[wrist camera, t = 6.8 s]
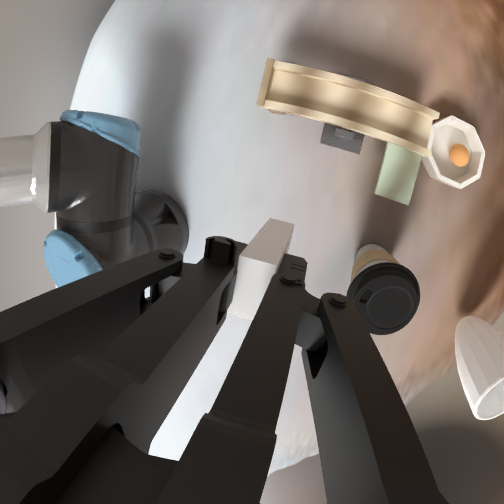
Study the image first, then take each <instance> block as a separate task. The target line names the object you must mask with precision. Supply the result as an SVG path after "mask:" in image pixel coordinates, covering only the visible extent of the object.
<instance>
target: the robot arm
mask: <svg viewBox="0 0 504 504" xmlns="http://www.w3.org/2000/svg"><path fill="white" fill-rule="evenodd" d="M60 120H61V121H60V122H48V123H46V124H45V125H44V126H43V127H42V128H41V130H39V131H38V132H37V133H36V134H34V135H24V136H13V137H4V138H0V207H4V206H11V205H18V204H25V203H34V204H36V205H37V206H38V207H39V208H40V209H41V210H42V211H43V212H45V213H49V212H56V217H57V230H53V231H52V232H50V234H48V235H47V237H46V240H45V241H44V245H43V253H44V258H45V262H46V266H47V269H48V271H49V273H50V275H51V277H52V279H53V281H54V282H55V284H56V285H57V287H58V288H56V289H54V290H51V291H49V292H46V293H44V294H42V295H40V296H37V297H34V298H32V299H30V300H27V301H25V302H23V303H20V304H18V305H16V306H13V307H11V308H9V309H6V310H4V311H2V312H0V504H260V503H259V502H260V499H261V496H262V492H263V489H264V485H265V482H266V478H267V475H268V471H269V467H270V464H271V460H272V456H273V452H274V448H275V444H276V438H277V435H276V434H275V429H276V425H277V421H278V417H279V413H280V409H281V404H282V400H283V396H284V391H285V387H286V382H287V378H288V373H289V369H290V364H291V359H292V354H293V349H294V344H296V345H298V346H300V347H302V359H303V364H304V369H305V374H306V380H307V385H308V390H309V396H310V401H311V407H312V412H313V418H314V424H315V429H316V435H317V441H318V447H319V453H320V459H321V466H322V471H323V478H324V485H325V491H326V497H327V504H449V503H448V502H447V501H446V500H445V498H444V497H443V496H442V494H441V493H440V492H439V490H438V488H437V485H436V482H435V479H434V476H433V474H432V471H431V468H430V466H429V463H428V460H427V458H426V455H425V453H424V450H423V448H422V445H421V443H420V440H419V438H418V436H417V433H416V431H415V428H414V426H413V424H412V421H411V419H410V417H409V414H408V412H407V410H406V408H405V405H404V403H403V401H402V399H401V397H400V394H399V392H398V390H397V388H396V386H395V384H394V382H393V380H392V377H391V375H390V373H389V371H388V369H387V367H386V365H385V363H384V361H383V359H382V357H381V355H380V353H379V351H378V349H377V347H376V345H375V343H374V341H373V339H372V337H371V335H370V333H369V331H368V329H367V328H366V326H365V324H364V322H363V320H362V318H361V316H360V314H359V313H358V311H357V309H356V307H355V305H354V304H353V302H352V301H351V300H350V299H348V298H347V297H346V296H344V295H343V296H342V295H341V294H336V293H326V294H323V295H322V296H321V299H318V298H316V297H314V296H312V295H311V294H309V293H308V292H307V291H306V290H305V282H304V280H305V274H306V268H307V262H306V261H305V259H304V258H301V257H297V256H293V255H290V254H287V253H288V249H289V245H290V241H291V237H292V232H293V228H294V224H292V223H288V222H284V221H280V220H276V219H272V218H270V219H269V220H268V221H267V222H266V224H265V225H264V226H263V227H262V228H261V230H260V231H259V232H258V233H257V234H256V236H255V237H254V238H253V239H252V241H251V242H250V243H249V244H245V243H241V242H237V241H234V240H233V239H230V238H227V237H221V236H212V237H208V238H206V244H205V252H204V258H202V259H201V260H200V261H199V262H198V263H197V264H190V263H183V254H184V252H185V250H186V247H187V243H188V226H187V222H186V219H185V216H184V214H183V212H182V210H181V208H180V207H179V206H178V204H177V203H176V202H175V201H174V200H173V199H172V198H171V197H169V196H168V195H166V194H164V193H162V192H159V191H145V192H141V193H138V194H135V191H136V181H137V171H138V163H139V158H140V156H141V154H140V140H141V130H140V127H139V125H138V124H137V123H136V122H134V121H132V120H129V119H126V118H122V117H118V116H114V115H109V114H103V113H97V112H89V111H86V112H84V111H77V110H66V111H64V112H63V113H62V115H61V117H60ZM149 286H150V297H148V298H145V293H144V290H145V289H146V288H147V287H149ZM230 304H231V305H230ZM229 306H230V310H229V314H232V315H235V316H239V317H242V318H245V319H249V320H252V323H251V325H250V327H249V330H248V332H247V334H246V336H245V338H244V341H243V343H242V345H241V347H240V349H239V351H238V354H237V356H236V358H235V360H234V362H233V364H232V366H231V369H230V371H229V373H228V375H227V377H226V379H225V381H224V383H223V386H222V388H221V390H220V392H219V394H218V396H217V398H216V400H215V402H214V404H213V406H212V408H211V410H210V412H209V413H208V414H207V413H205V414H204V415H203V416H202V418H201V420H200V422H199V423H198V425H197V427H196V429H195V431H194V433H193V435H192V437H191V439H190V441H189V443H188V445H187V447H186V448H185V450H184V452H183V454H182V456H181V458H180V460H179V461H176V460H170V459H165V458H161V457H156V456H152V455H148V453H149V448H150V444H151V442H152V440H153V438H154V436H155V435H156V433H157V431H158V430H159V428H160V427H161V425H162V423H163V422H164V420H165V418H166V417H167V415H168V414H169V412H170V410H171V409H172V407H173V405H174V404H175V402H176V400H177V399H178V397H179V396H180V394H181V392H182V391H183V389H184V387H185V386H186V384H187V382H188V381H189V379H190V377H191V376H192V374H193V373H194V371H195V369H196V368H197V366H198V364H199V363H200V361H201V359H202V358H203V356H204V354H205V353H206V351H207V349H208V348H209V346H210V344H211V343H212V341H213V339H214V338H215V336H216V334H217V333H218V331H219V329H220V328H221V326H222V324H223V323H224V321H225V319H226V314H227V309H228V307H229Z"/></svg>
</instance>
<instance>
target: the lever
mask: <svg viewBox="0 0 504 504" xmlns="http://www.w3.org/2000/svg"><path fill="white" fill-rule="evenodd" d="M257 105H258V106H259V107H260V108H265V109H270V110H275V111H280V112H284V113H289V114H293V115H298V116H302V117H306V118H310V119H314V120H318V121H322V122H325V123H329V124H332V125H336V126H339V127H343V128H346V129H349V130H353V131H356V132H359V133H362V134H365V135H368V136H371V137H374V138H377V139H380V140H383V141H385V142H387V143H386V147H385V151H384V155H383V159H382V163H381V167H380V171H379V175H378V178H377V182H376V186H375V189H374V194H376V195H379V196H382V197H385V198H388V199H391V200H394V201H397V202H400V203H402V204H405V205H409V202H410V199H411V195H412V192H413V188H414V185H415V181H416V178H417V174H418V170H419V166H420V162H421V158H422V156H424V157H431V154H432V151H431V150H428V149H427V147H428V142H429V138H430V133H431V128H432V122H433V120H434V119H439V114H440V113H439V112H437V111H435V110H432V109H430V108H428V107H426V106H424V105H422V104H419V103H417V102H415V101H412V100H410V99H408V98H405V97H403V96H400V95H398V94H395V93H393V92H390V91H387V90H385V89H382V88H379V87H376V86H373V85H371V84H368V83H365V82H361V81H358V80H355V79H352V78H348V77H345V76H342V75H338V74H334V73H331V72H327V71H323V70H319V69H314V68H310V67H306V66H301V65H296V64H291V63H286V62H280V61H275V60H274V59H270V58H267V61H266V66H265V70H264V74H263V78H262V83H261V87H260V91H259V96H258V100H257Z"/></svg>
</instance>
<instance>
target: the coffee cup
mask: <svg viewBox="0 0 504 504" xmlns="http://www.w3.org/2000/svg"><path fill="white" fill-rule="evenodd" d="M346 297H347V298H348V299H350V300H351V301H352V302H353V304H354V305H355V307H356V309H357V311H358V313H359V314H360V316H361V318H362V320H363V322H364V324H365V326H366V328H367V329H368V331H369V333H372V334H376V335H387V334H391V333H394V332H397V331H399V330H400V329H402V328H403V327H405V326H406V325H407V324H408V323H409V322H410V321H411V319H412V318H413V316H414V314H415V313H416V311H417V308H418V306H419V302H420V290H419V284H418V281H417V279H416V277H415V276H414V274H413V273H412V272H411V271H410V270H409V269H407V268H406V267H404V266H402V265H400V264H399V263H398V262H397V261H396V259H395V258H394V257H393V256H392V255H390V254H389V253H388V252H387V251H386V250H385V249H384V248H382V247H381V246H379V245H376V244H367V245H365V246H363V247H362V248H360V250H359V251H358V252H357V254H356V256H355V259H354V266H353V269H352V275H351V283H350V286H349V289H348V291H347V296H346Z"/></svg>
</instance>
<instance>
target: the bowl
mask: <svg viewBox="0 0 504 504" xmlns="http://www.w3.org/2000/svg"><path fill="white" fill-rule="evenodd" d="M454 144H462V145H464V146H465V147H466V148H467V149H468V151H469V154H470V159H469V162H468V163H467V164H466V165H465V166H461V167H460V166H456V165H455V164H454V163H453V162H452V161H451V159H450V157H449V151H450V148H451V147H452V146H453V145H454ZM427 149H428V150H431V151H432V154H431V157H424V156H422V158H421V160H422V162H423V164H424V166H425V168H426V170H427V172H428V175H429V176H430V177H431V178H433V179H436V180H438V181H440V182H443V183H445V184H447V185H449V186H452V187H456V188H459V189H462V188H463V187H465V186H467V185H469V184H470V183H472V182H474V181H475V180H477V179H479V177H480V175H481V171H482V166H483V161H484V157H485V153H484V152H485V151H484V148H483V146H482V143H481V141H480V139H479V137H478V134H477V132H476V130H475V128H474V127H473V126H472V125H470V124H468V123H466V122H464V121H462V120H460V119H458V118H456V117H454V116H448V117H445V118H442V119H440V120H438V121H436V122H434V123H432V128H431V133H430V138H429V142H428V147H427Z"/></svg>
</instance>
